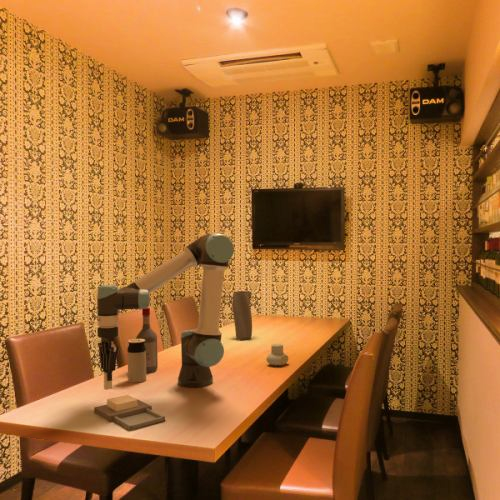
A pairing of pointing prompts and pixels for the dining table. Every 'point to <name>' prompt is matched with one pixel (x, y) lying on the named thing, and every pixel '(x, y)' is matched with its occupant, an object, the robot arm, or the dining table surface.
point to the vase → (242, 314)
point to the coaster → (122, 403)
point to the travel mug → (136, 360)
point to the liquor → (149, 342)
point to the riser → (110, 413)
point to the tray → (140, 420)
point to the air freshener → (277, 355)
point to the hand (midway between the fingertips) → (108, 388)
